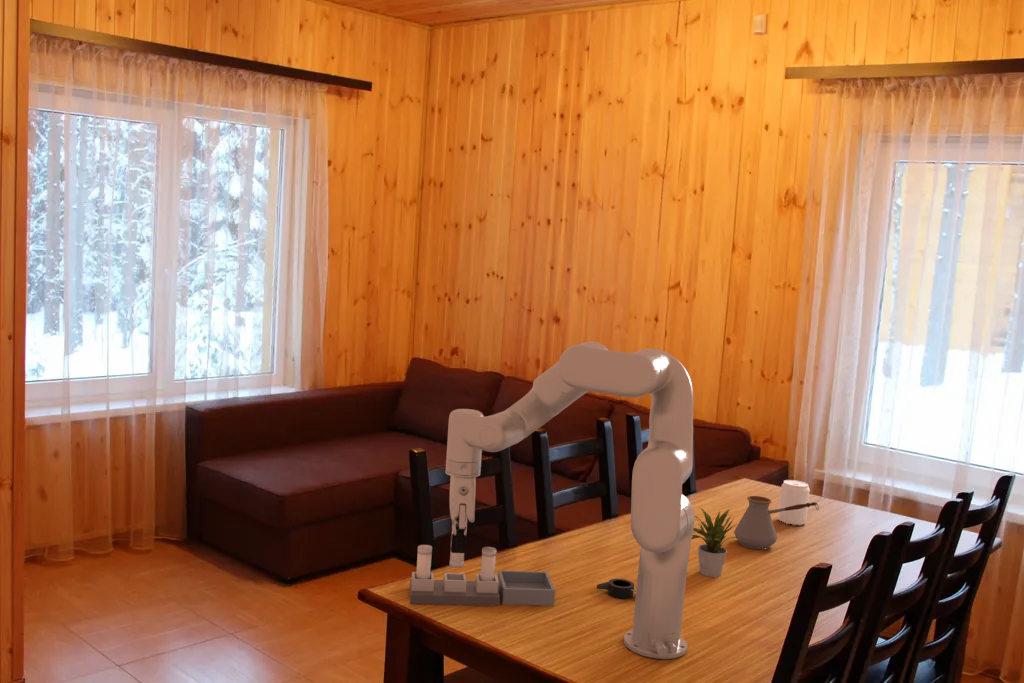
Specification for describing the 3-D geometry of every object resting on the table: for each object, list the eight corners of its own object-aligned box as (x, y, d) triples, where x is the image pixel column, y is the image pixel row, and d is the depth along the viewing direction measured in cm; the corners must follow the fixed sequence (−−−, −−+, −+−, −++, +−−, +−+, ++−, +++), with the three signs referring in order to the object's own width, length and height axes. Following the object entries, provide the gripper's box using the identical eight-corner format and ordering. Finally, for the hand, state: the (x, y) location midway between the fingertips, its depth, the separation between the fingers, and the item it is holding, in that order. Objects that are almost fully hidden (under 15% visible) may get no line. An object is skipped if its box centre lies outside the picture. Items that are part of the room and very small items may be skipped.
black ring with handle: (614, 585, 229) (615, 573, 228) (648, 599, 222) (649, 586, 221) (592, 592, 223) (593, 580, 223) (627, 606, 216) (628, 594, 216)
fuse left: (429, 590, 211) (432, 549, 210) (415, 589, 211) (418, 549, 210) (429, 584, 214) (431, 545, 213) (414, 584, 214) (417, 544, 213)
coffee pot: (727, 545, 265) (733, 491, 263) (739, 535, 275) (745, 483, 273) (808, 563, 255) (814, 507, 253) (817, 552, 265) (823, 498, 263)
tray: (553, 605, 213) (555, 590, 212) (502, 604, 211) (504, 588, 211) (545, 586, 224) (547, 571, 223) (497, 585, 222) (498, 570, 222)
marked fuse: (464, 568, 211) (467, 527, 210) (449, 567, 211) (452, 527, 210) (463, 563, 214) (466, 523, 213) (448, 562, 214) (451, 522, 213)
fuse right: (494, 591, 213) (497, 551, 212) (479, 591, 213) (482, 551, 211) (492, 586, 216) (495, 547, 215) (478, 586, 216) (481, 546, 214)
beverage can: (777, 523, 289) (781, 484, 287) (778, 516, 296) (782, 478, 295) (805, 528, 286) (810, 488, 285) (805, 520, 294) (810, 482, 293)
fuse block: (499, 606, 210) (500, 585, 210) (410, 603, 208) (411, 583, 207) (494, 590, 219) (496, 570, 219) (409, 587, 217) (411, 568, 216)
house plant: (693, 557, 252) (699, 495, 250) (745, 570, 245) (752, 507, 243) (672, 572, 240) (679, 507, 238) (727, 586, 233) (734, 519, 231)
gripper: (484, 477, 203) (478, 563, 205) (477, 458, 219) (471, 537, 221) (448, 476, 202) (442, 562, 204) (443, 457, 218) (438, 536, 220)
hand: (457, 548), depth 212 cm, fingers closed on marked fuse, 3 cm apart
